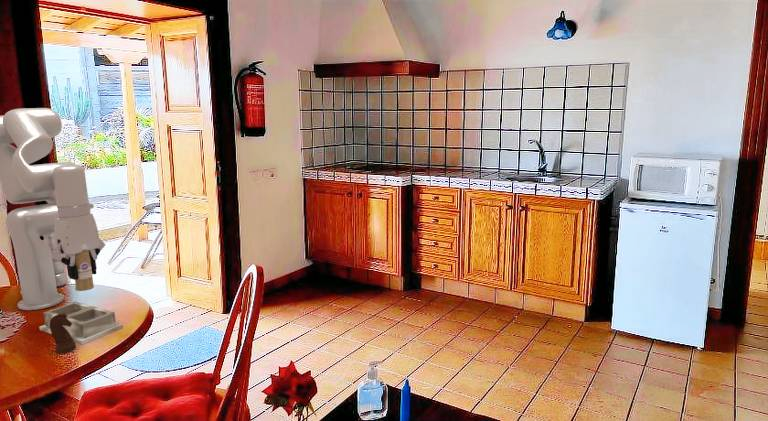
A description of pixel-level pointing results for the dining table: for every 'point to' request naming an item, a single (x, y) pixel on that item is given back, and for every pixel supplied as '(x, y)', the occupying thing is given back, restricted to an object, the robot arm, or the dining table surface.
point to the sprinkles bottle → (83, 270)
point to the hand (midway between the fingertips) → (83, 275)
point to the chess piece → (62, 334)
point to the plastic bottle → (56, 261)
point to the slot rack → (83, 321)
